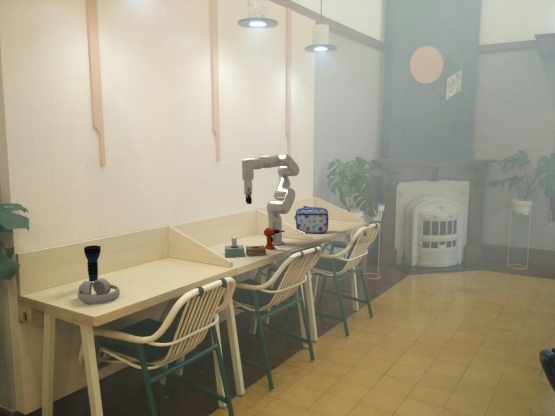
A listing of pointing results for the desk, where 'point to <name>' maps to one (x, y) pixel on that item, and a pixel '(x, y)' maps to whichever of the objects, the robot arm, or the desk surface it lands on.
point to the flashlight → (92, 261)
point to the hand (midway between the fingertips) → (248, 203)
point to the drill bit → (234, 243)
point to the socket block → (255, 250)
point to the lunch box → (312, 219)
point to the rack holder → (234, 251)
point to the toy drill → (270, 237)
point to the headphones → (100, 288)
